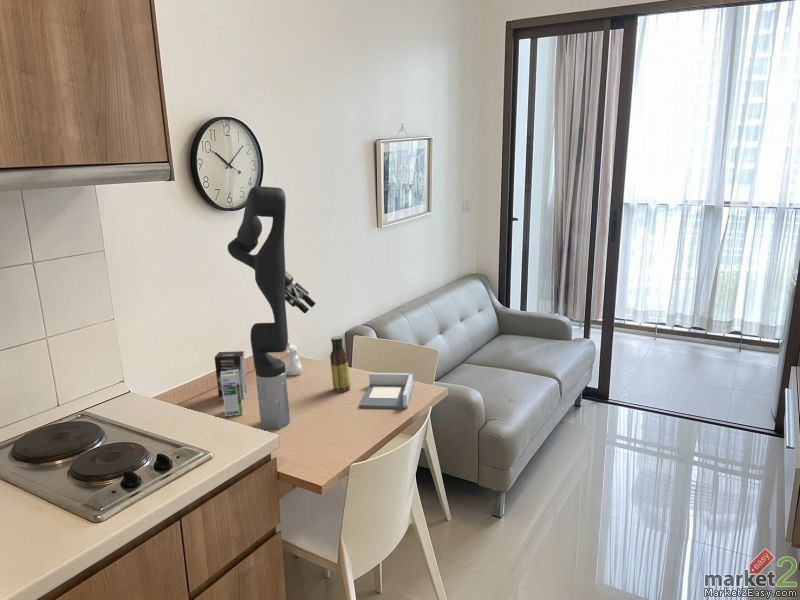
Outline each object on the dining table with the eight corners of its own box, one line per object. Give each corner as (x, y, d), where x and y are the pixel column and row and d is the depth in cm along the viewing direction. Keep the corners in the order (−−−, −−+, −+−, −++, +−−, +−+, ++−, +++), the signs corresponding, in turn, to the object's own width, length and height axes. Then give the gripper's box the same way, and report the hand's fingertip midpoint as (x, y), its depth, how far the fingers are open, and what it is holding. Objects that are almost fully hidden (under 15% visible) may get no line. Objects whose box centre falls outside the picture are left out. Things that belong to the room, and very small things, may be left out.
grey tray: (406, 408, 198) (406, 394, 197) (359, 407, 200) (359, 394, 199) (413, 386, 217) (412, 373, 216) (370, 385, 219) (369, 372, 218)
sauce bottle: (351, 386, 219) (348, 334, 215) (348, 392, 213) (345, 339, 209) (334, 386, 220) (330, 334, 215) (330, 392, 214) (327, 340, 209)
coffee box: (218, 400, 211) (213, 357, 207) (223, 393, 217) (218, 351, 213) (244, 399, 211) (239, 356, 207) (248, 392, 217) (243, 350, 214)
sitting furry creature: (296, 367, 241) (293, 339, 239) (310, 372, 236) (307, 343, 233) (277, 374, 235) (274, 345, 232) (291, 379, 229) (288, 349, 226)
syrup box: (224, 417, 196) (220, 376, 193) (225, 410, 202) (220, 370, 198) (242, 415, 198) (238, 374, 194) (242, 408, 203) (238, 368, 200)
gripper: (276, 273, 203) (311, 306, 204) (289, 266, 217) (322, 296, 218) (263, 289, 205) (298, 321, 206) (277, 280, 219) (309, 310, 220)
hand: (310, 308), depth 212 cm, fingers open, 8 cm apart
